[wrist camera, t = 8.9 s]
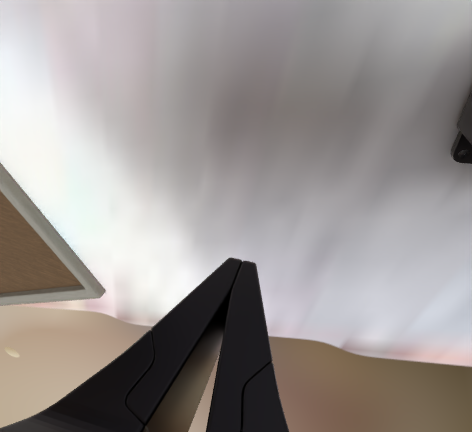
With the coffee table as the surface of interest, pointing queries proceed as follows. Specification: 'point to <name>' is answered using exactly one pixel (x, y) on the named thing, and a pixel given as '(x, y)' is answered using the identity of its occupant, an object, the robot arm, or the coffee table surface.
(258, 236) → the coffee table surface
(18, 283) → the grey picture frame
